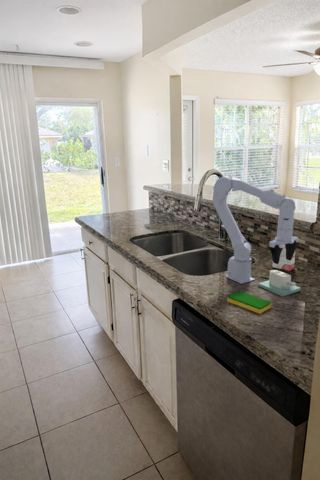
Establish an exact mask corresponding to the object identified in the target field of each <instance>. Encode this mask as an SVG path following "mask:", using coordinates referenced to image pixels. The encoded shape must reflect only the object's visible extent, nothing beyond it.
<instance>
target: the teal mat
mask: <svg viewBox="0 0 320 480" xmlns="http://www.w3.org/2000/svg"><path fill="white" fill-rule="evenodd" d="M258 287H260V288H261V289H264V290H265V291H269V292H271V293H274V294H277V295H278V296H281V297H285V296H288V295H291V294H294V293H295V294H296V293H298V292H300V291H301V287H300V286H298V285H296V286H293V287H291V286H290V289H288V290H284V289H280V288H278V287H276V286H273V285H271V284H269V279H268V280H265V281H261V282H259V283H258Z"/></svg>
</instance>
